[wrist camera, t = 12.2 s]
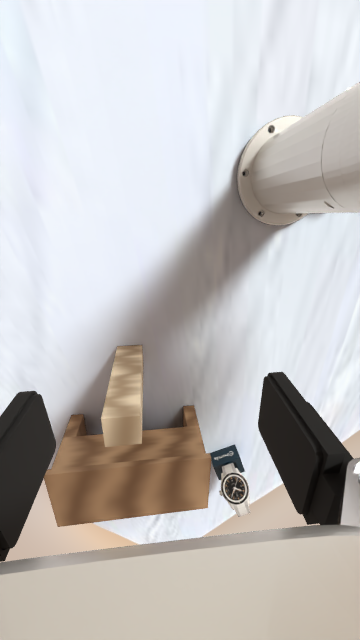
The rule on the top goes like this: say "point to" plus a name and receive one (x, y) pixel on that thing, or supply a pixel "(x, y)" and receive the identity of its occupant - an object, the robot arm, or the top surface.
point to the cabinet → (128, 474)
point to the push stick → (124, 399)
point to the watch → (232, 479)
